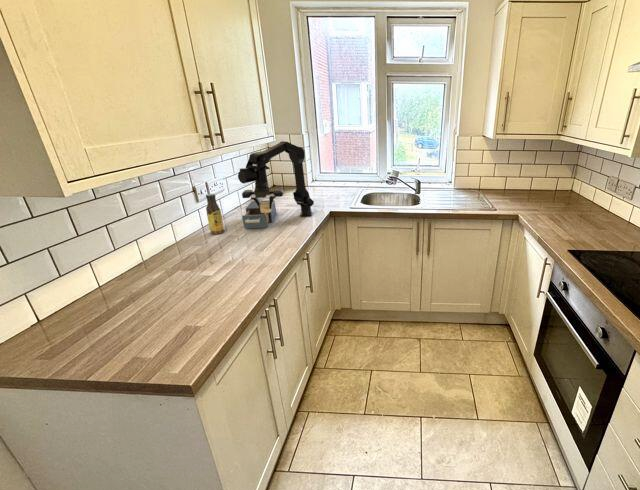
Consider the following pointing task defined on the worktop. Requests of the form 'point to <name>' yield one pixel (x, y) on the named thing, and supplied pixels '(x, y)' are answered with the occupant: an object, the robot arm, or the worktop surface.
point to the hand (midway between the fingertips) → (265, 209)
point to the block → (265, 207)
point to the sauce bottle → (214, 215)
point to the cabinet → (254, 205)
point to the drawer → (255, 219)
